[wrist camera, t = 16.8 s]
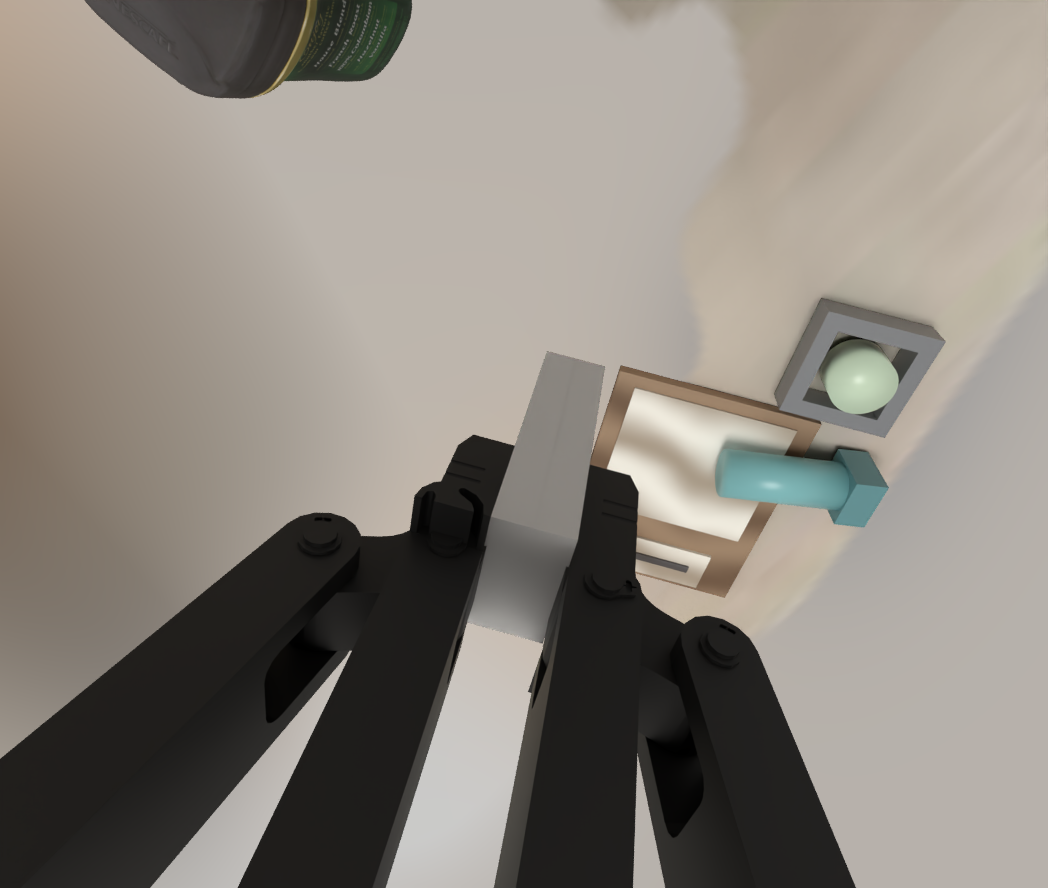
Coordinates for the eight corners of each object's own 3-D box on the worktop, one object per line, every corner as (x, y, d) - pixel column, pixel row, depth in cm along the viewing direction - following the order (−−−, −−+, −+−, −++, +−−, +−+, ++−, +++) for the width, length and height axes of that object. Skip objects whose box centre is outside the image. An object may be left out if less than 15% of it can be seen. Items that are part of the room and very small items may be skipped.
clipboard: (620, 365, 51) (619, 373, 50) (818, 417, 51) (822, 427, 50) (562, 545, 63) (560, 556, 61) (723, 590, 62) (725, 601, 61)
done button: (837, 332, 46) (847, 350, 44) (898, 348, 46) (911, 366, 44) (809, 385, 49) (817, 404, 46) (867, 400, 48) (878, 420, 46)
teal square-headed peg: (737, 470, 48) (888, 487, 48) (726, 435, 51) (867, 452, 51) (720, 510, 50) (864, 527, 51) (710, 475, 54) (845, 491, 54)
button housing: (821, 298, 46) (829, 311, 44) (932, 327, 46) (945, 341, 44) (774, 394, 50) (779, 409, 48) (875, 420, 50) (884, 437, 48)
